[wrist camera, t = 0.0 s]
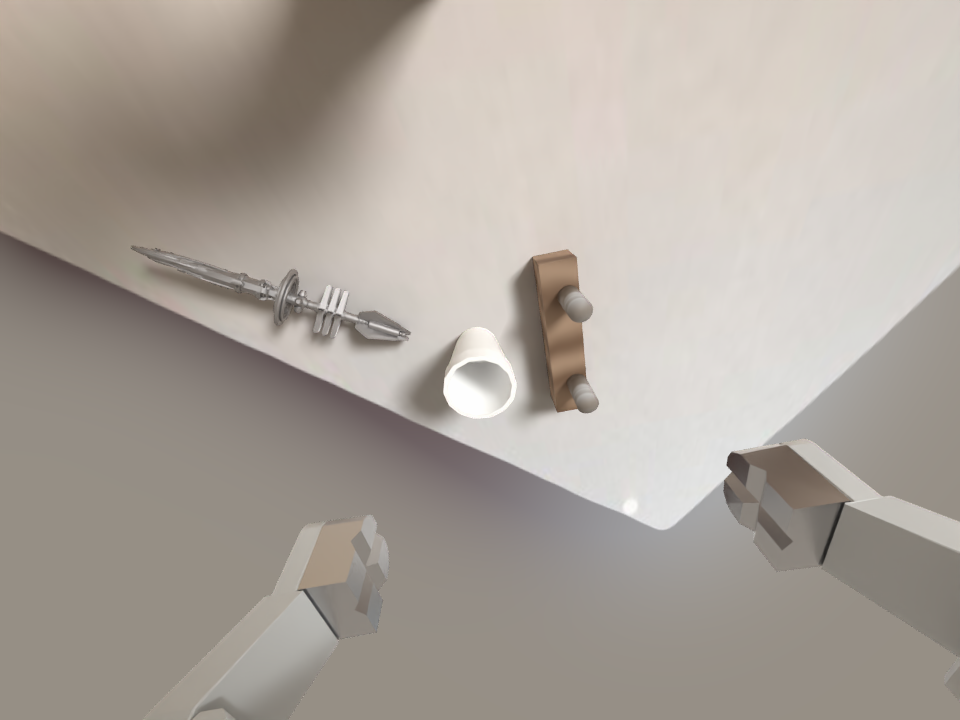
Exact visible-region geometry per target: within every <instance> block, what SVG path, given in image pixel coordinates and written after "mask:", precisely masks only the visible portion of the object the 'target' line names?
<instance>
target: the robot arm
mask: <svg viewBox="0 0 960 720" xmlns="http://www.w3.org/2000/svg"><path fill="white" fill-rule="evenodd" d="M727 466H728V468H729V469H730V470H731V471H732V472H731V474H730V475H729V476H728V477H727V478H726V479H725V480H724V495H725V499H726V502H727V505H728V507H729V509H730V510H731V512H732V514H733V515H734V517H735V518H736V519H737V521H738V522H739V523H740V524H741V525H743V526H745V527H747V528H749V529H750V530H752V531H754V543H755V545H756V546H757V547H758V548H759V550H760V551H761V552H762V554H763V555H764V556H765V557H766V559H767V560H768V561H769V563H770V564H771V565H772V567H773V568H774V569H775V570H776V571H777V572H778V571H787V570H794V569H802V568H811V567H818V566H822V569H823V570H825V571H826V572H828V573H829V574H831V575H832V576H834V577H835V578H837V579H838V580H840V581H841V582H843V583H845V584H846V585H848V586H849V587H851V588H852V589H854V590H856V591H857V592H859V593H860V594H862V595H863V596H865V597H866V598H868V599H869V600H871V601H873V602H874V603H876V604H877V605H879V606H880V607H882V608H883V609H885V610H887V611H888V612H890V613H891V614H893V615H894V616H896V617H897V618H899V619H901V620H902V621H904V622H905V623H907V624H908V625H910V626H911V627H913V628H915V629H916V630H918V631H919V632H921V633H922V634H924V635H925V636H927V637H929V638H930V639H932V640H933V641H935V642H936V643H938V644H939V645H941V646H942V647H944V648H945V649H947V650H949V651H950V652H952V653H953V654H955V655H956V656H958V659H957V660H956V661H955V662H954V664H953V665H952V666H951V668H950V669H949V670H948V671H947V673H946V674H945V682H944V684H945V686H946V687H947V688H948V689H949V690H950V691H951V693H952V694H953V695H954V696H955V697H956V698H957V699H958V700H959V701H960V522H958V521H956V520H953V519H951V518H948V517H945V516H943V515H940V514H938V513H935V512H932V511H930V510H927V509H924V508H922V507H919V506H916V505H914V504H911V503H909V502H906V501H904V500H901V499H898V498H896V497H893V496H886V497H882V496H881V495H879V494H878V493H877V492H876V491H874V490H873V489H872V488H871V487H869V486H868V485H867V484H866V483H864V482H863V481H862V480H861V479H859V478H858V477H857V476H856V475H854V474H853V473H852V472H851V471H849V470H848V469H847V468H845V467H844V466H843V465H842V464H840V463H839V462H838V461H836V460H835V459H834V458H833V457H832V456H830V455H829V454H828V453H827V452H825V451H824V450H823V449H822V448H820V447H819V446H818V445H816V444H815V443H814V442H812V441H809V440H807V439H801V440H795V441H790V442H784V443H779V444H772V445H766V446H761V447H755V448H750V449H744V450H739V451H734V452H731V453H730V455H729V456H728V459H727ZM376 527H377V523H376V521H375V520H374V518H373V516H372V515H364V516H357V517H350V518H343V519H336V520H330V521H324V522H318V523H311V524H307V525H306V526H305V527H304V528H303V529H302V530H301V531H300V533H299V535H298V538H297V540H296V542H295V544H294V546H293V549H292V551H291V553H290V555H289V558H288V560H287V562H286V564H285V566H284V569H283V571H282V573H281V575H280V578H279V580H278V582H277V584H276V586H275V588H274V591H273V593H272V595H270V596H265V597H264V598H263V599H262V600H261V601H260V602H259V603H258V604H257V605H256V606H255V607H254V608H253V609H252V610H251V611H250V612H249V613H248V614H247V615H246V616H245V617H244V618H243V619H242V620H241V621H240V622H239V623H238V624H237V625H236V626H235V627H234V628H233V629H232V630H231V631H230V632H229V633H228V634H227V635H226V636H225V637H224V638H223V639H222V640H221V641H220V642H219V643H218V644H217V645H216V646H215V647H214V648H213V649H212V650H211V651H210V652H209V653H208V654H207V655H206V656H205V657H204V658H203V659H202V660H201V661H200V662H199V663H198V664H197V665H196V666H195V667H194V668H193V669H192V670H191V671H190V672H189V673H188V674H187V675H185V677H183V679H182V680H180V682H178V683H177V684H176V686H174V688H172V689H171V690H170V691H169V693H167V694H166V695H165V696H164V697H163V698H162V699H161V701H159V703H158V704H156V705H155V707H153V708H152V709H151V710H150V711H149V712H148V713H147V714H146V715H145V716H144V718H143V720H288V719H289V718H290V716H291V714H292V713H293V711H294V710H295V708H296V707H297V705H298V704H299V702H300V701H301V699H302V698H303V696H304V695H305V693H306V691H307V690H308V689H309V687H310V686H311V684H312V683H313V681H314V679H315V678H316V676H317V675H318V673H319V672H320V670H321V669H322V667H323V665H324V664H325V663H326V661H327V660H328V658H329V657H330V655H331V654H332V652H333V650H334V649H335V647H336V646H337V644H338V643H339V641H338V640H339V639H344V638H350V637H355V636H360V635H365V634H371V633H376V632H377V628H378V623H379V617H380V613H381V608H382V603H383V599H382V597H381V596H380V594H379V592H378V591H379V589H380V588H381V587H382V585H383V584H384V583H385V582H386V580H387V575H388V569H389V553H388V548H387V544H386V542H385V540H384V538H383V537H382V536H380V535H378V534H377V533H375V532H376Z"/></svg>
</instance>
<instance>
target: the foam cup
mask: <svg viewBox="0 0 960 720" xmlns="http://www.w3.org/2000/svg"><path fill="white" fill-rule="evenodd" d="M516 386H517V383H516V379H515V375H514V372H513V369H512V367H511V364H510V362H509V361H508V360H507V359H506V357H505V355H504V353H503V351H502V349H501V347H500V345H499V344H498V342H497V340H496V338H495V336H494V335H493V334H492V333H491V332H490V331H489V330H487V329H484V328H481V327H475V328H469V329H468V330H466V331H464V332H463V333H462V334H461V336H460V337H459V339H458V341H457V343H456V346H455V349H454V352H453V354H452V357H451V360H450V362H449V365H448V366H447V368H446V369H445V378H444V389H443V394H444V396H445V398H446V400H447V402H448V404H449V406H450V407H451V408H453V409H454V410H455V411H457V412H458V413H459V414H460V415H463V416H467V417H471V418H474V419H479V418H488V417H493V416H495V415H497V414H498V413H500V412H502V411H504V410H505V409H506V408H507V407H508V406H509V404H510V403H511V402H512V401H513V399H514V397H515V392H516Z"/></svg>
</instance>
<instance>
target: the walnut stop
mask: <svg viewBox="0 0 960 720" xmlns="http://www.w3.org/2000/svg"><path fill="white" fill-rule="evenodd" d="M533 265H534V272H535V280H536V287H537V295H538V302H539V310H540V317H541V325H542V332H543V340H544V347H545V355H546V362H547V370H548V377H549V385H550V392H551V397H552V400H553V402H554V405H555V408H556V410H557V412H563V411H568V410H574V409H578V410H579V411H580V412H582V413H591V412H593V411H594V410H596V409H597V407H598V405H599V401H598V399H597V397H596V395H595V394H594V392H593V390H592V388H591V386H590V385H589V383H588V381H587V379H586V369H585V357H584V344H583V332H582V322H584V321H586V320H588V319H589V318H590V316H591V315H592V312H593V307H592V305H591V303H590V302H589V301H588V300H587V299H586V298H585V296H584V295H583V294H582V293H581V292H580V291H579V281H578V269H577V257H576V256H575V255H573V254H572V253H571V252H570V251H569V250H562V251H557V252H553V253H548V254H543V255H538V256H534V257H533Z"/></svg>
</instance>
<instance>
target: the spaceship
mask: <svg viewBox="0 0 960 720" xmlns="http://www.w3.org/2000/svg"><path fill="white" fill-rule="evenodd" d="M131 247H132V248H131ZM131 247H130V248H131V249H133V250H135V251H136V252H138V253H141V254H143V255H145V256H147V257H148V258H149V259H152V260H153V261H155V262H158V263H161V264H164V265H167V266H172V267H174V268H177V270H178V269H180V270H179V271H181V270H182V271H181V272H183V273H187V274H189V275H191V276H194V277H196V278H199V279H202V280H205V281H208V282H210V283H213V284H214V285H218V286H219V285H220V287H222V286H223V287H226V288H227V289H234V290H235V291H236V292H237V293H244V292H245V293H249V294H252V295H255V297H256V298H257V299H259V300H267V299H268V300H275V302H274V309H273V310H274V323H275V324H276V325H281V324H282V323H283V321H285V320H286V319H287V317H288V316H289V314H290V312H291V310H292V307H293V305H294V311H295V312H296V313H300V312H301V311H302V308H304V307H306V308H309V309H313V310H314V311H315V312H317V317H316V321H315V325H314V329H313V332H315V333H318V332H319V331H320V329H321V326H322V324H323V321H324V318H325V316H326V318H325V322H324V326H323V330H322V335H325V336H326V334H328V332H329V329H330V326H331V324H332V321H333V318H334V323H333V327H332V331H331V334H330V337H331V338H334V337H336V334H337V332H338V329H339V326H340V323H341V321H342V320H345V321H349V322H352V323H355V324H356V325H355V329H356V330H357V331H358V332H360V333H361V334H362V335H363V336H364V337H365V338H366V339H376V340H390V341H397V340H401V341H408V340H409V338H408V337H407V336H405V335H410V334H411V332H409V331H408V330H406V329H404V328H403V327H401V326H400V325H399V324H397V323H396V322H394V321H392V320H391V319H389V318H387V317H385V316H384V315H382V314H380V313H378V312H377V311H365V312H360V313H359V315H358V316H357V315H354V314H351V313H348V312H346V311H345V308H346V304H347V300H348V296H349V292H347V291H344V293H343V296H342V298H341V301H340V304H339V306H338V308H337V305H338V301H339V297H340V293H341V289H338V288H336V289H335V292H334V294H333V297H332V300H331V302H330V298H331V294H332V290H333V287H332V286H329V285H327V287H326V290H325V293H324V295H323V298H322V301H321V303H315V302H312V301H310V300H307V298H306V291H303V290H301V291H300V292H299V294H298V295H297V291H298V285H299V278H298V272H297V271H296V270H295V269H292V270H290V271H289V272H288V274H287V275H286V277H285V278H284V279H283V280H282V282H281V284H280V286H279V288H278V287H276V286H274V285H272V284H271V282H269V281H267V280H260V281H259V280H256V279H253V278H250V277H248V275H247V274H245V273H241V274H238V273H233V272H230V271H228V270H226V269H221V268H218V267H216V266H213V265H210V264H207V263H204V262H200V261H197V260H193V259H190V258H187V257H184V256H179V255H176V254H174V253H171V252H170V253H169V252H166V251H160V249H157V248H155V249H156V250H154V249H148V248H144V247H140V248H139V247H136V246H131ZM274 288H275V289H274ZM271 297H272V298H271ZM329 302H330V305H329Z"/></svg>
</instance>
